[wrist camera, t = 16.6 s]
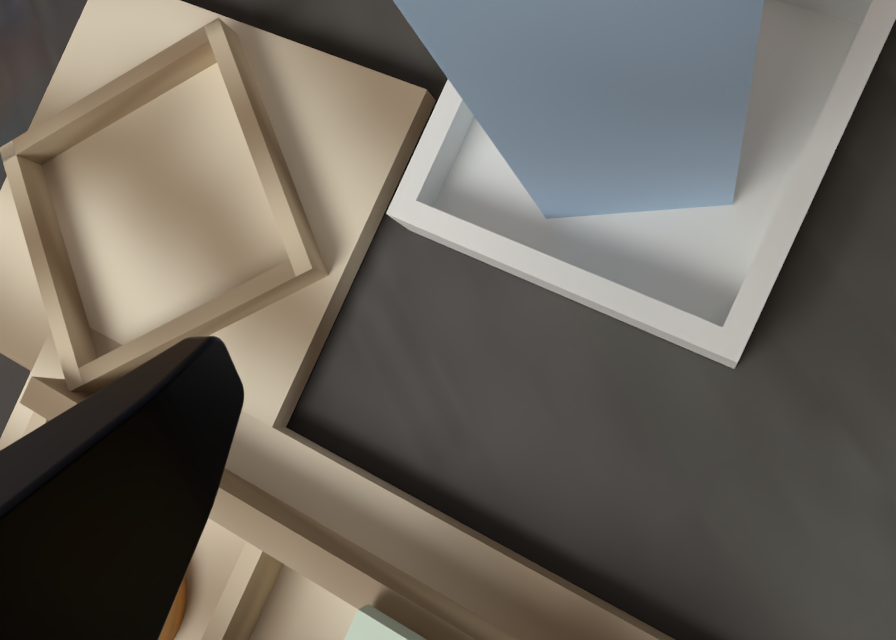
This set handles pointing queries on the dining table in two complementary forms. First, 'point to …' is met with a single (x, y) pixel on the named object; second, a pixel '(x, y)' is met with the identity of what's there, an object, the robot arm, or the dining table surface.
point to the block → (603, 94)
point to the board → (244, 314)
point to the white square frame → (676, 230)
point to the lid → (378, 627)
